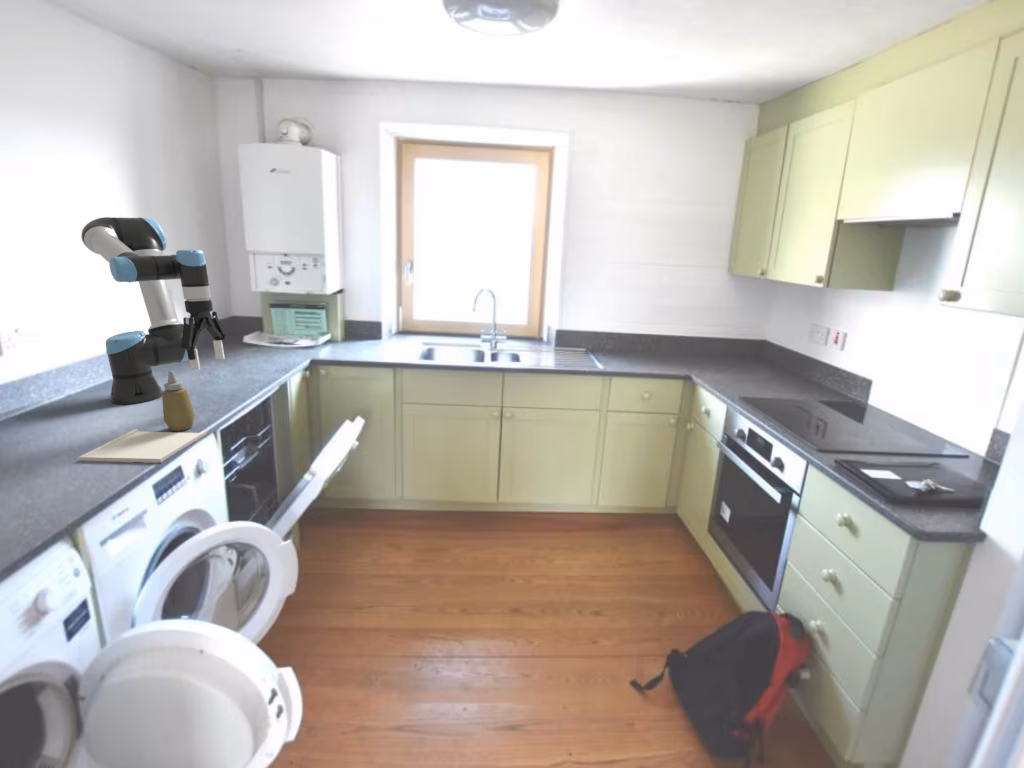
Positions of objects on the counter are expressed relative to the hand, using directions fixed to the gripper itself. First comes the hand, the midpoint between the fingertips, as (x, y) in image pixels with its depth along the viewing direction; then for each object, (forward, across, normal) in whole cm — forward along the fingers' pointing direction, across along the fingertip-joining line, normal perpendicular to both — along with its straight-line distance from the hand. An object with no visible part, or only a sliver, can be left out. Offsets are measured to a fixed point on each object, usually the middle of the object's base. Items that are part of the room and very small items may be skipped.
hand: (208, 364), depth 172 cm
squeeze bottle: (+16, +18, 0) cm, 24 cm away
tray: (+16, +32, 0) cm, 36 cm away
